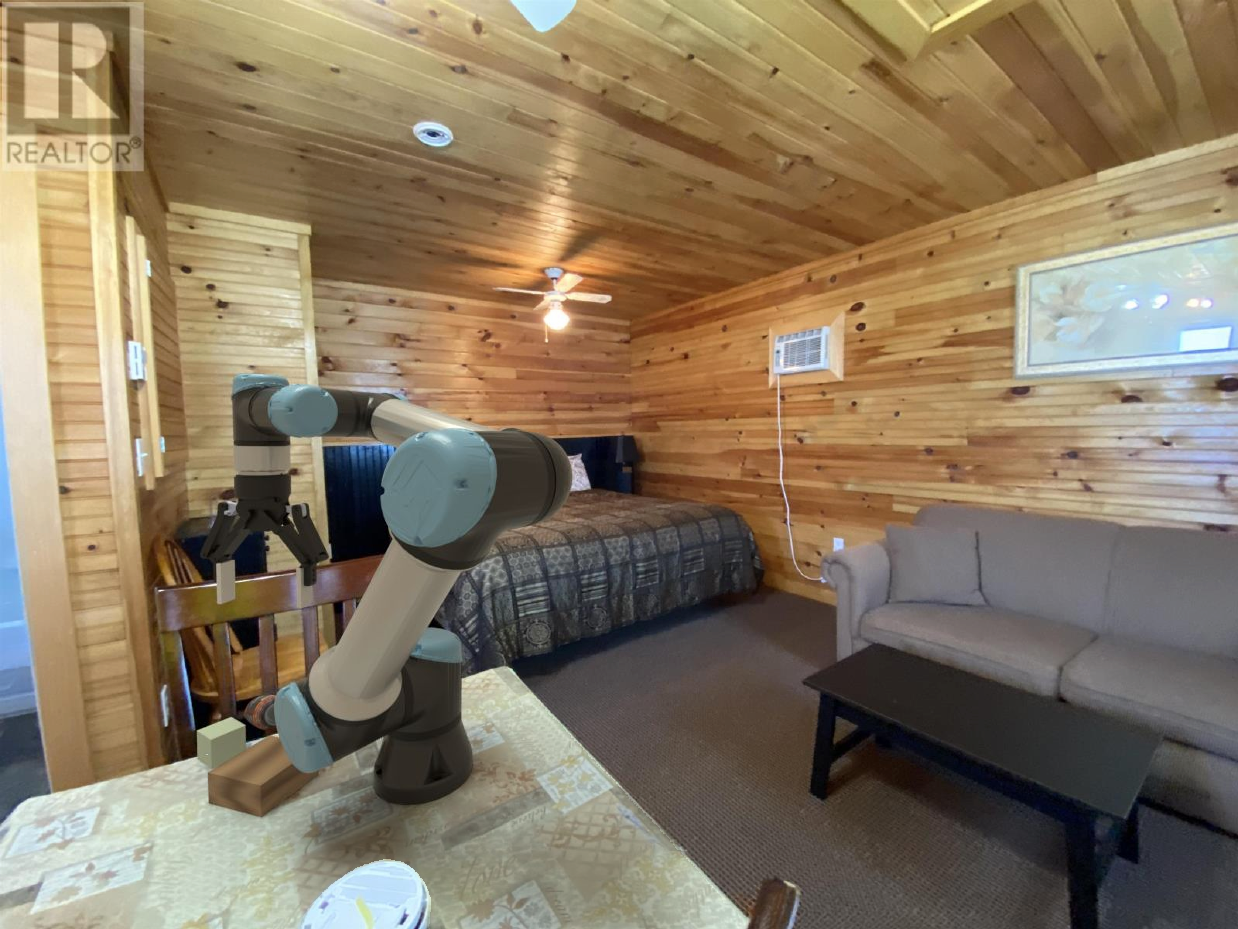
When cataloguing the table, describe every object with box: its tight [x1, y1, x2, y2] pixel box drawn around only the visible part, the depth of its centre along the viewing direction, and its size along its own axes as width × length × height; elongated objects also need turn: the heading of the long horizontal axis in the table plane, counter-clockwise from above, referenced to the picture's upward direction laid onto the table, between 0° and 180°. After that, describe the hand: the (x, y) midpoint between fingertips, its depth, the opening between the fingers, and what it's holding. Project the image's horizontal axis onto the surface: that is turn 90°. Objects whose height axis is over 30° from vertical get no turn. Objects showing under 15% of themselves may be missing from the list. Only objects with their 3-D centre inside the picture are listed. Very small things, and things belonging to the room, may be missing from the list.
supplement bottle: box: [243, 694, 277, 731], centre depth 99 cm, size 6×6×11 cm
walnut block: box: [207, 735, 320, 818], centre depth 80 cm, size 10×10×5 cm
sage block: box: [196, 716, 247, 770], centre depth 88 cm, size 5×5×5 cm
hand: (265, 603), depth 84 cm, fingers open, 13 cm apart
